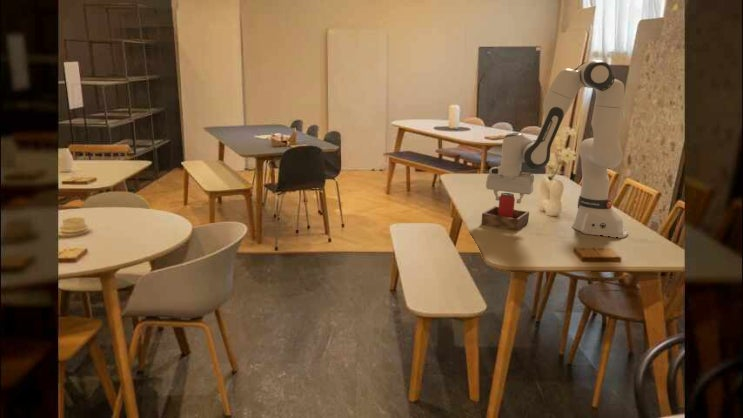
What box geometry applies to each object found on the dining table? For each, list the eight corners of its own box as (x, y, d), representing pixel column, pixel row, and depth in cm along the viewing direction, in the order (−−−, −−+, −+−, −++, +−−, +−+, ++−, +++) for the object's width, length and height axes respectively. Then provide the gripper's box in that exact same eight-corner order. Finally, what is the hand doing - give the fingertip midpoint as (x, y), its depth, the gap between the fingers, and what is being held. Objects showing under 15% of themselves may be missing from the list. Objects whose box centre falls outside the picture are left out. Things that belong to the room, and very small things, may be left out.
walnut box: (528, 222, 256) (529, 211, 255) (517, 230, 242) (518, 219, 241) (493, 216, 264) (494, 206, 262) (481, 224, 250) (482, 213, 249)
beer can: (513, 223, 249) (515, 196, 246) (497, 222, 250) (500, 195, 247) (512, 219, 255) (514, 193, 252) (497, 218, 256) (499, 192, 253)
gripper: (536, 172, 244) (533, 203, 248) (490, 167, 255) (488, 197, 258) (532, 174, 239) (529, 206, 243) (485, 169, 249) (483, 199, 253)
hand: (508, 201), depth 251 cm, fingers open, 8 cm apart
